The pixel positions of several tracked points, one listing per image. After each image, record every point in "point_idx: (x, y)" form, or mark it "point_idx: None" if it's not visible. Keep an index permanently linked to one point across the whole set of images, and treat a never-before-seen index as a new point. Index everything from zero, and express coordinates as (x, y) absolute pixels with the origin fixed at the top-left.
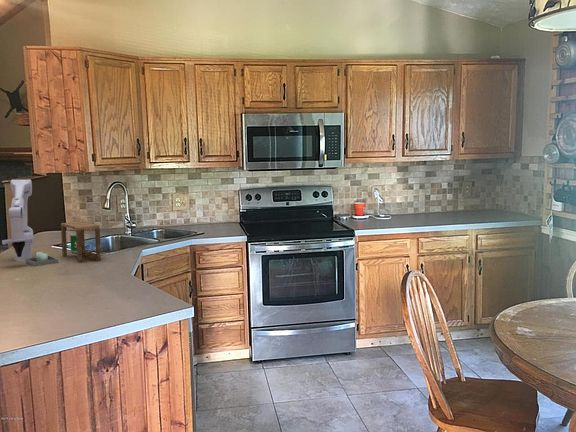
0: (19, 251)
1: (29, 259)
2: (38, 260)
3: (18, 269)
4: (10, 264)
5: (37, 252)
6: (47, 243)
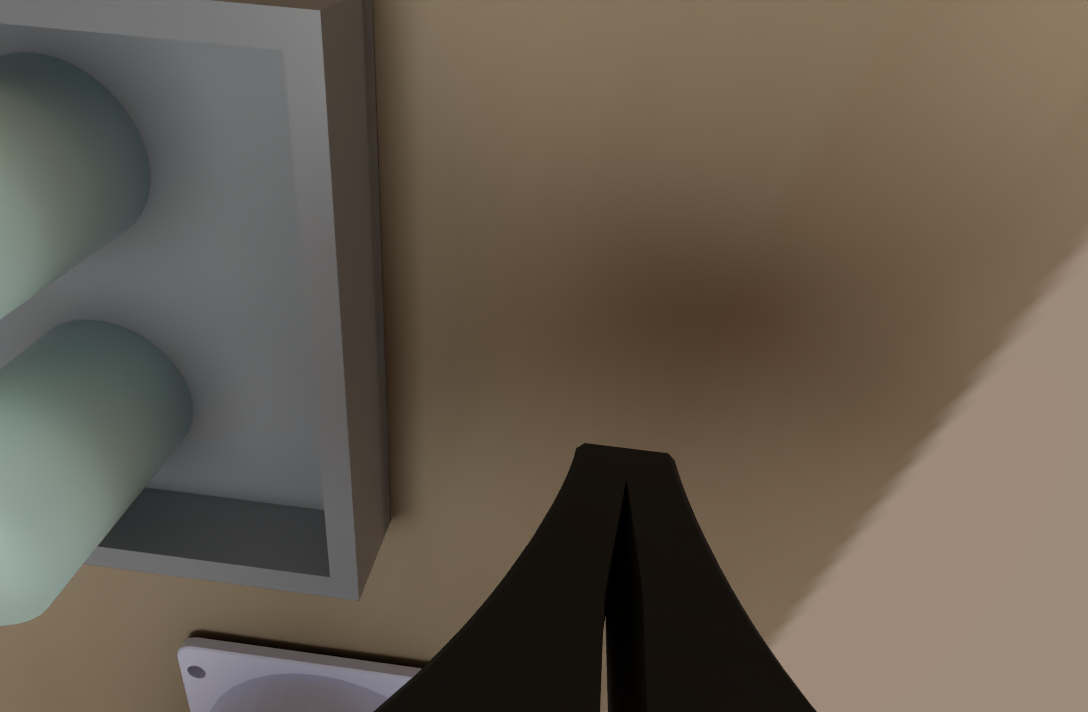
0: (643, 572)
1: (296, 556)
2: (134, 379)
3: (792, 80)
4: None
5: (15, 604)
6: None
